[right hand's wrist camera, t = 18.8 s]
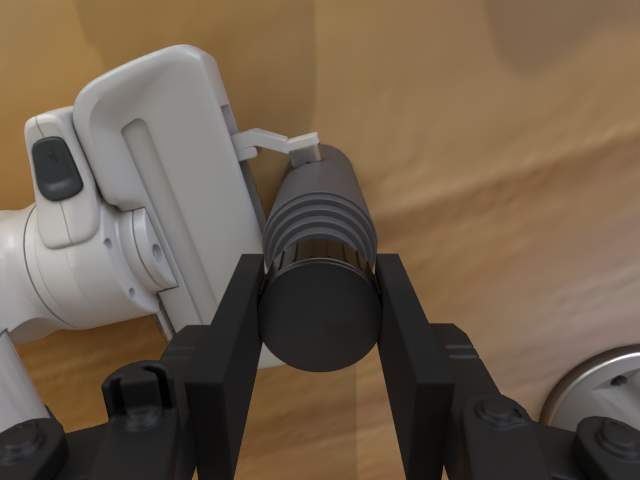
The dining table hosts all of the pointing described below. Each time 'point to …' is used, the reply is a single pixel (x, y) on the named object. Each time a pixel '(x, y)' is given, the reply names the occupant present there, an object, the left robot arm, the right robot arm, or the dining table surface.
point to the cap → (319, 306)
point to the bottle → (320, 208)
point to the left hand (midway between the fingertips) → (333, 196)
